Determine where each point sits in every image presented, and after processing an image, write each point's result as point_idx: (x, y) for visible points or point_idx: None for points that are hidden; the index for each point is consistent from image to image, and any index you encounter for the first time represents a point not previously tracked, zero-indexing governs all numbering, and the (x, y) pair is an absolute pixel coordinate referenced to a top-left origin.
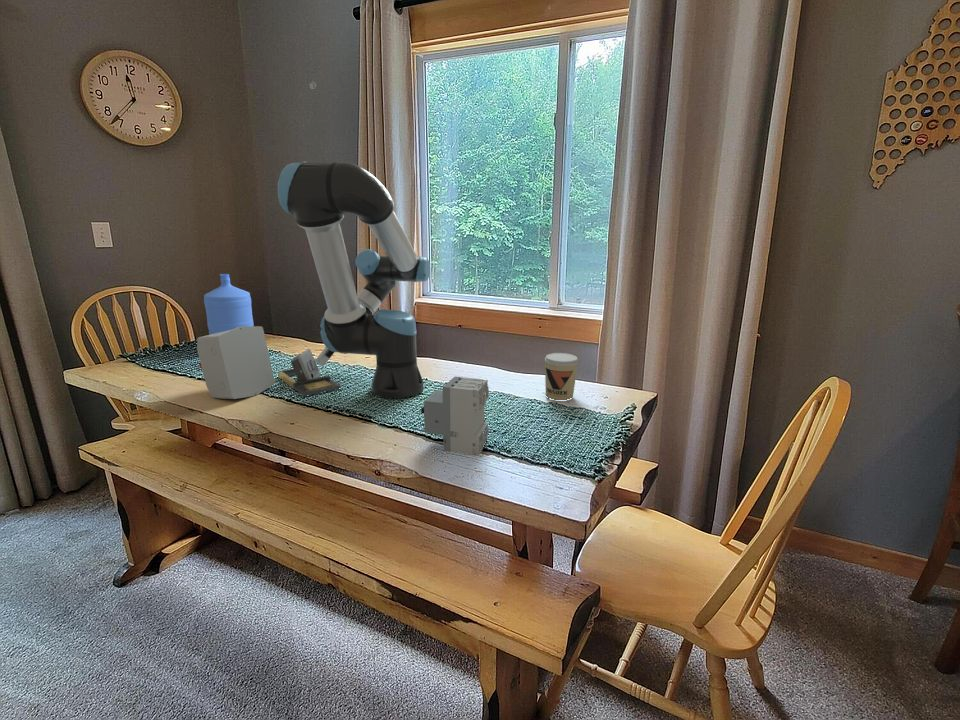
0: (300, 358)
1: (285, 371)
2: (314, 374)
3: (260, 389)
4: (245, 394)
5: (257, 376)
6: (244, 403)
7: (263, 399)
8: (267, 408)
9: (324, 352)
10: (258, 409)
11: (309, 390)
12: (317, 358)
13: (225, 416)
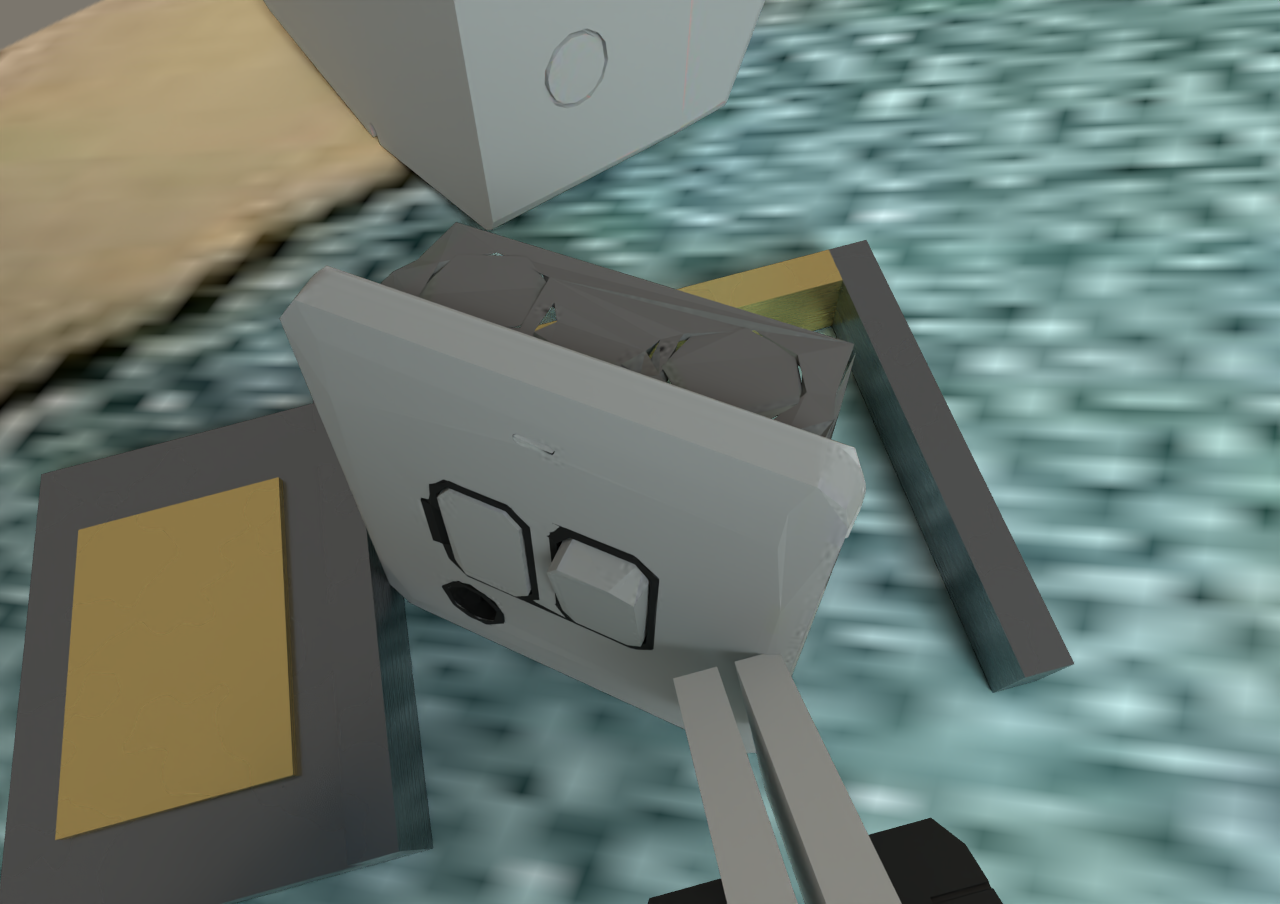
0: (287, 316)
1: (857, 316)
2: (557, 645)
3: (395, 139)
4: (317, 55)
5: (362, 15)
6: (243, 89)
7: (248, 191)
8: (24, 221)
9: (720, 875)
10: (51, 171)
11: (74, 537)
12: (762, 703)
13: (73, 22)
